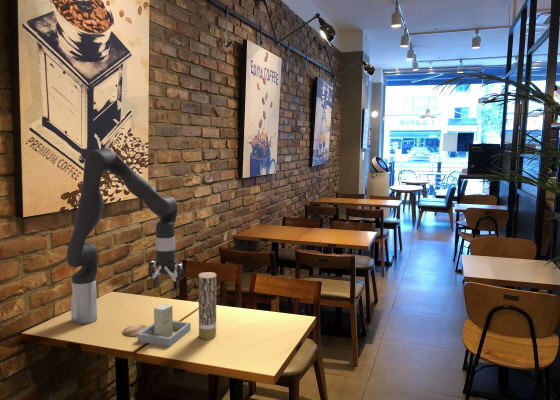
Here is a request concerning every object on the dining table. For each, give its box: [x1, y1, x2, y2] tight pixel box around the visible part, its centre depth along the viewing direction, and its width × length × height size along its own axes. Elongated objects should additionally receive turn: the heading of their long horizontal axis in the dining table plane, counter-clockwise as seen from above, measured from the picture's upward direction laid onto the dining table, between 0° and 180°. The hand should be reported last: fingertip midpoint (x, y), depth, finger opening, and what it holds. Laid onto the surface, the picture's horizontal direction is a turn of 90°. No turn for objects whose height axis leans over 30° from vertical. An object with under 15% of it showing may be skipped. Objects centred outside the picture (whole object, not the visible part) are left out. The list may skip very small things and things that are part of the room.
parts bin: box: [137, 320, 192, 347], centre depth 175 cm, size 14×16×3 cm
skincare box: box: [153, 303, 174, 337], centre depth 173 cm, size 6×4×12 cm
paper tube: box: [198, 271, 217, 340], centre depth 174 cm, size 7×7×25 cm
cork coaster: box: [122, 324, 149, 337], centre depth 178 cm, size 10×10×1 cm
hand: (166, 288), depth 173 cm, fingers open, 8 cm apart
